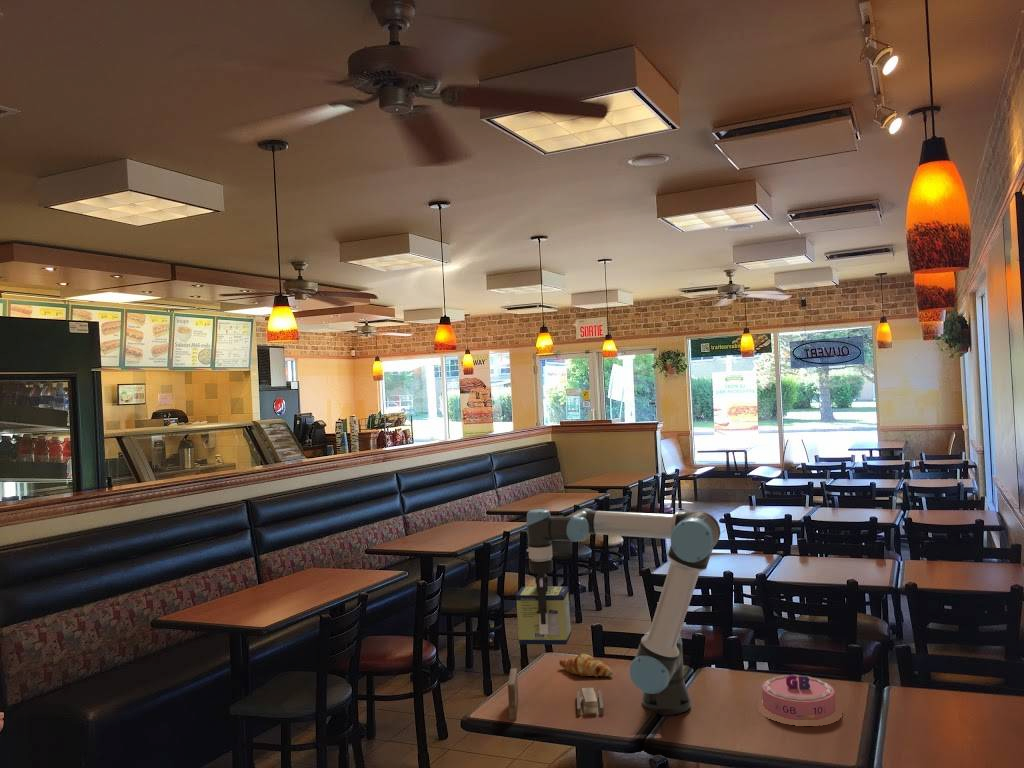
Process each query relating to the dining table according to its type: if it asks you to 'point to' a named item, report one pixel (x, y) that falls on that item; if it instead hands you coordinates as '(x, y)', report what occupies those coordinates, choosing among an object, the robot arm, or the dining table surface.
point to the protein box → (555, 611)
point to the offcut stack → (589, 700)
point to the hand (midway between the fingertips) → (544, 628)
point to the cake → (798, 697)
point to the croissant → (586, 666)
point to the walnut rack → (515, 700)
